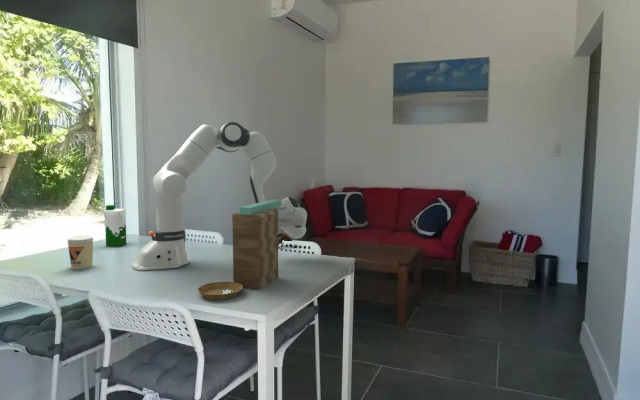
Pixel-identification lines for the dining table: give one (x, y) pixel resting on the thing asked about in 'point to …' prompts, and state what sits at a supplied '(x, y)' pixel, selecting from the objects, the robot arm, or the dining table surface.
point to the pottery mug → (283, 238)
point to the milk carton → (115, 226)
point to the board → (259, 207)
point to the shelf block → (255, 248)
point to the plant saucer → (219, 290)
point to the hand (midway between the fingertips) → (274, 205)
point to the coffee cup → (81, 252)
